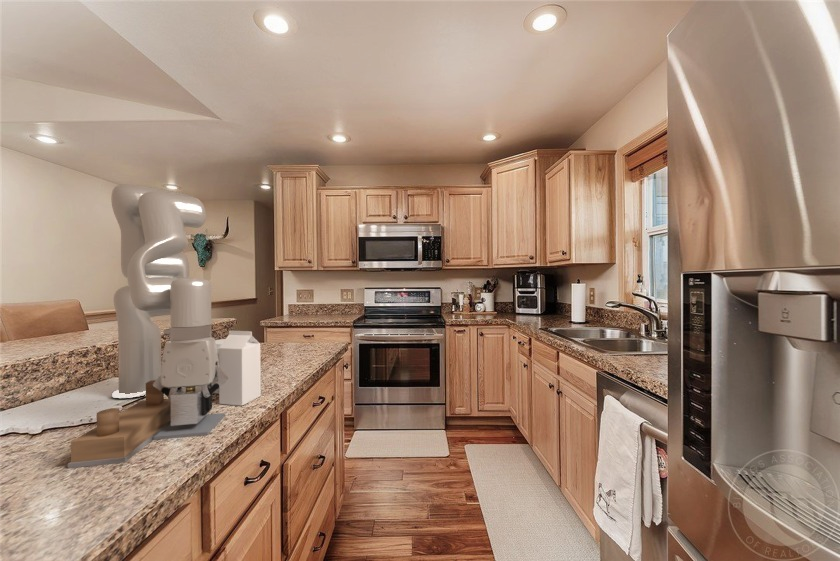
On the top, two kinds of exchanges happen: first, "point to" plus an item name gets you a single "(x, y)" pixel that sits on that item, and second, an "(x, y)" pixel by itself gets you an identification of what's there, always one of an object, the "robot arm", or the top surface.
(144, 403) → the body
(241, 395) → the milk carton
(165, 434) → the mat
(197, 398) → the grey block with knob
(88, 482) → the top surface
